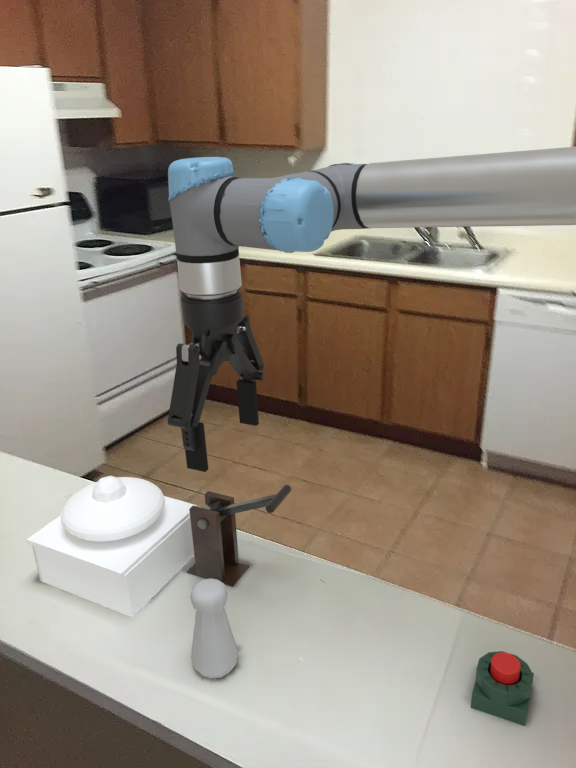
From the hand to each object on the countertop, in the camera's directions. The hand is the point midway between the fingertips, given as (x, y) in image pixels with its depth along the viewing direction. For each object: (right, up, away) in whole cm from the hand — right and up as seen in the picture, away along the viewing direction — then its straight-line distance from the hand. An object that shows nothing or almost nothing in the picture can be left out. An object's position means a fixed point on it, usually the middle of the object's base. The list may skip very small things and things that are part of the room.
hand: (225, 444), depth 90 cm
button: (+33, -25, -13) cm, 44 cm away
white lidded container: (-17, -20, +12) cm, 29 cm away
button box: (+34, -29, -11) cm, 46 cm away
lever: (+3, -10, +3) cm, 11 cm away
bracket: (-2, -20, +10) cm, 23 cm away
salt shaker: (-1, -28, -6) cm, 28 cm away
